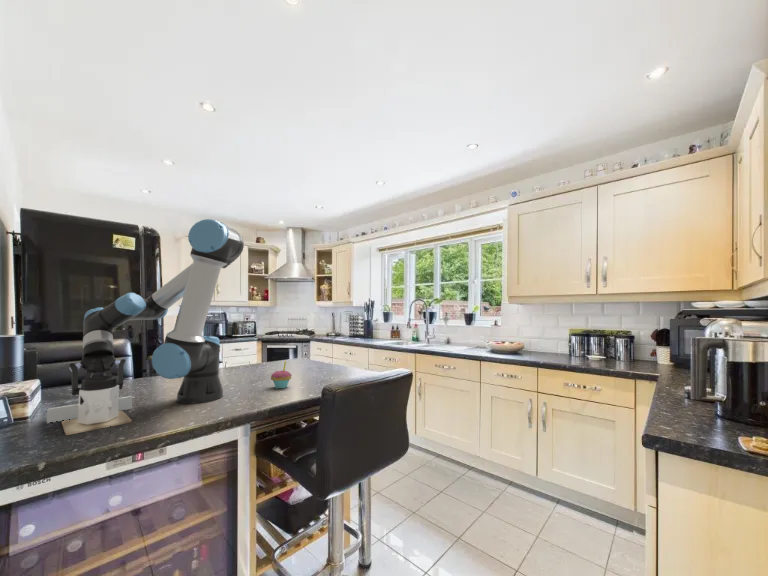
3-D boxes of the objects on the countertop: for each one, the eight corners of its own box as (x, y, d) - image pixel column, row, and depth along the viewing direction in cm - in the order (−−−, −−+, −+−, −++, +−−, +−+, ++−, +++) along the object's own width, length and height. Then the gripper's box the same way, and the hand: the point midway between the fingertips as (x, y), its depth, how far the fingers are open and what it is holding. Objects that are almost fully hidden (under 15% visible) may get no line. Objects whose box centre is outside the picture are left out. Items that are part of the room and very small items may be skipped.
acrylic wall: (130, 407, 112) (131, 395, 112) (131, 408, 111) (132, 396, 111) (46, 422, 97) (47, 408, 97) (46, 423, 96) (47, 409, 96)
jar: (76, 427, 91) (78, 383, 92) (78, 419, 97) (80, 378, 98) (118, 420, 97) (119, 378, 97) (117, 413, 103) (119, 374, 104)
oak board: (122, 412, 106) (122, 410, 106) (131, 422, 97) (131, 420, 97) (61, 423, 96) (61, 421, 96) (65, 435, 87) (66, 433, 87)
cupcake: (294, 385, 146) (294, 357, 147) (286, 390, 137) (287, 360, 138) (275, 385, 147) (276, 357, 147) (266, 389, 138) (267, 360, 139)
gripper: (130, 353, 115) (134, 412, 102) (60, 357, 103) (55, 425, 90) (133, 338, 111) (137, 398, 98) (61, 341, 100) (56, 409, 86)
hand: (98, 411), depth 94 cm, fingers closed on jar, 4 cm apart
